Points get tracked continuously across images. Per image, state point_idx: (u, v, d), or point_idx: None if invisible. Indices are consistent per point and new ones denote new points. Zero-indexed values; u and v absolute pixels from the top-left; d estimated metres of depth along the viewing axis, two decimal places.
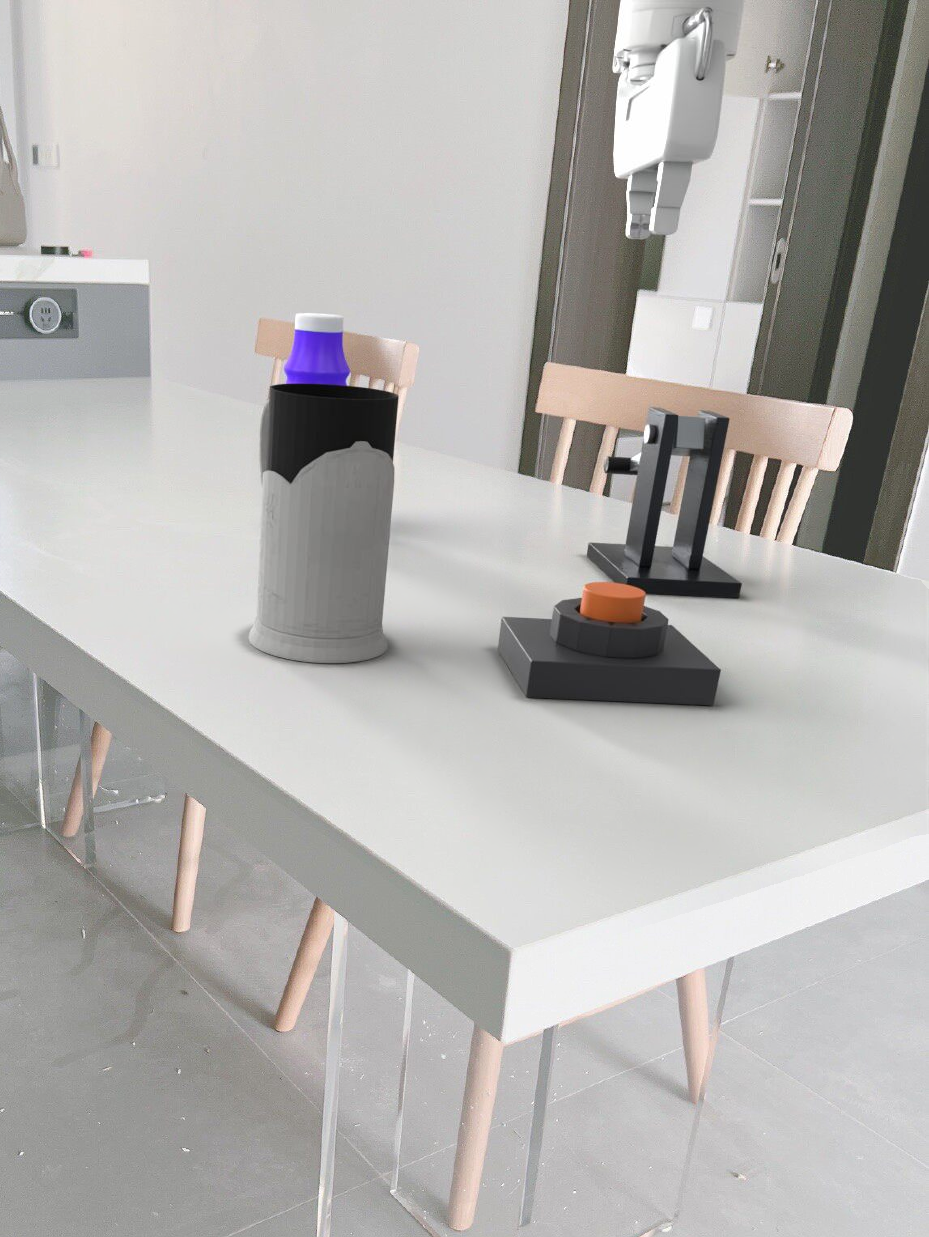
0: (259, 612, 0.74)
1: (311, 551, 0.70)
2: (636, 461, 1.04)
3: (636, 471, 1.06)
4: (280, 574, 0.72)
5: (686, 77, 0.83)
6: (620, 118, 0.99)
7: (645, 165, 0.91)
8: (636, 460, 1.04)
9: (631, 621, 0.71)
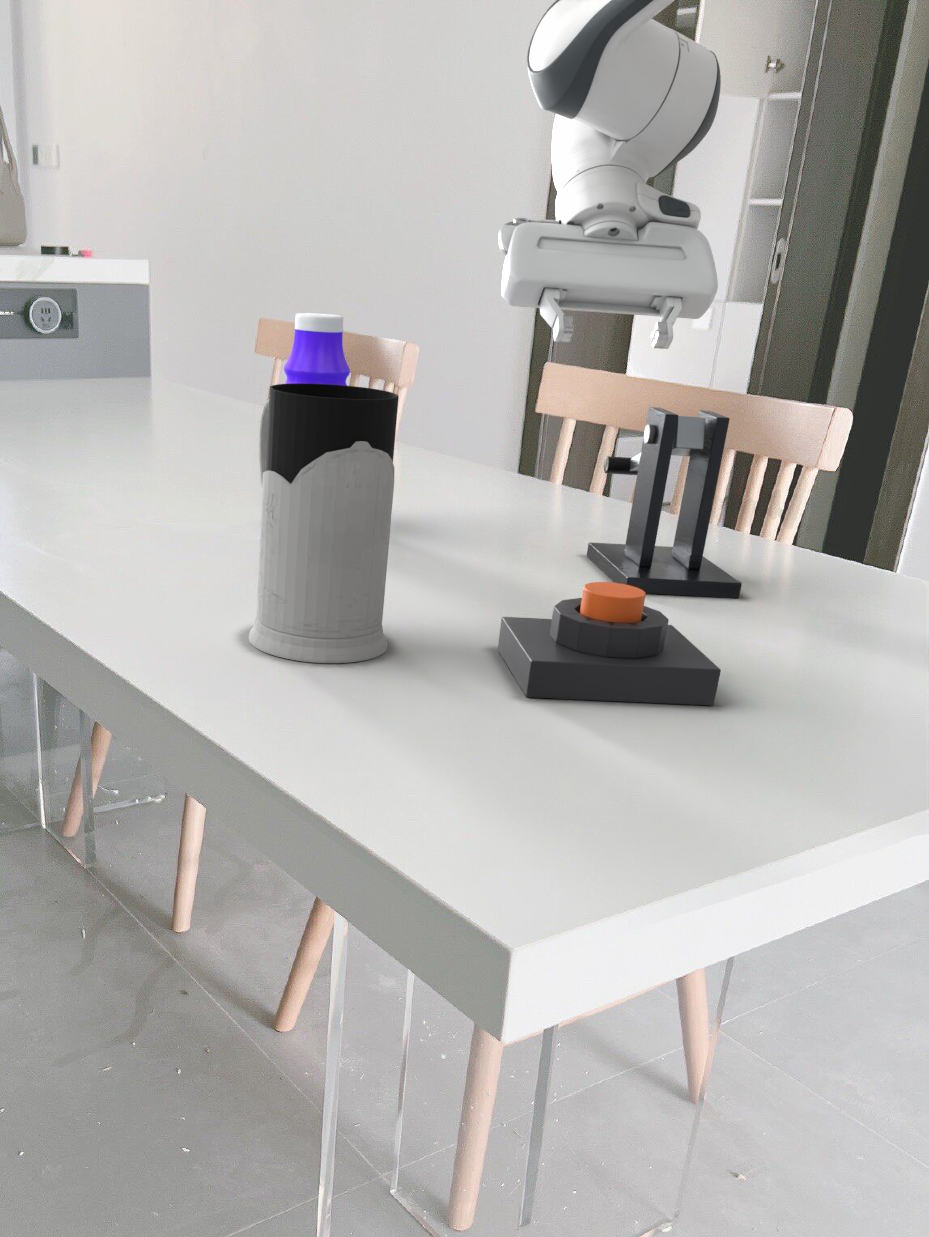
0: (259, 612, 0.74)
1: (311, 551, 0.70)
2: (636, 461, 1.04)
3: (636, 471, 1.06)
4: (280, 574, 0.72)
5: (505, 261, 1.17)
6: None
7: (580, 310, 1.16)
8: (636, 460, 1.04)
9: (631, 621, 0.71)
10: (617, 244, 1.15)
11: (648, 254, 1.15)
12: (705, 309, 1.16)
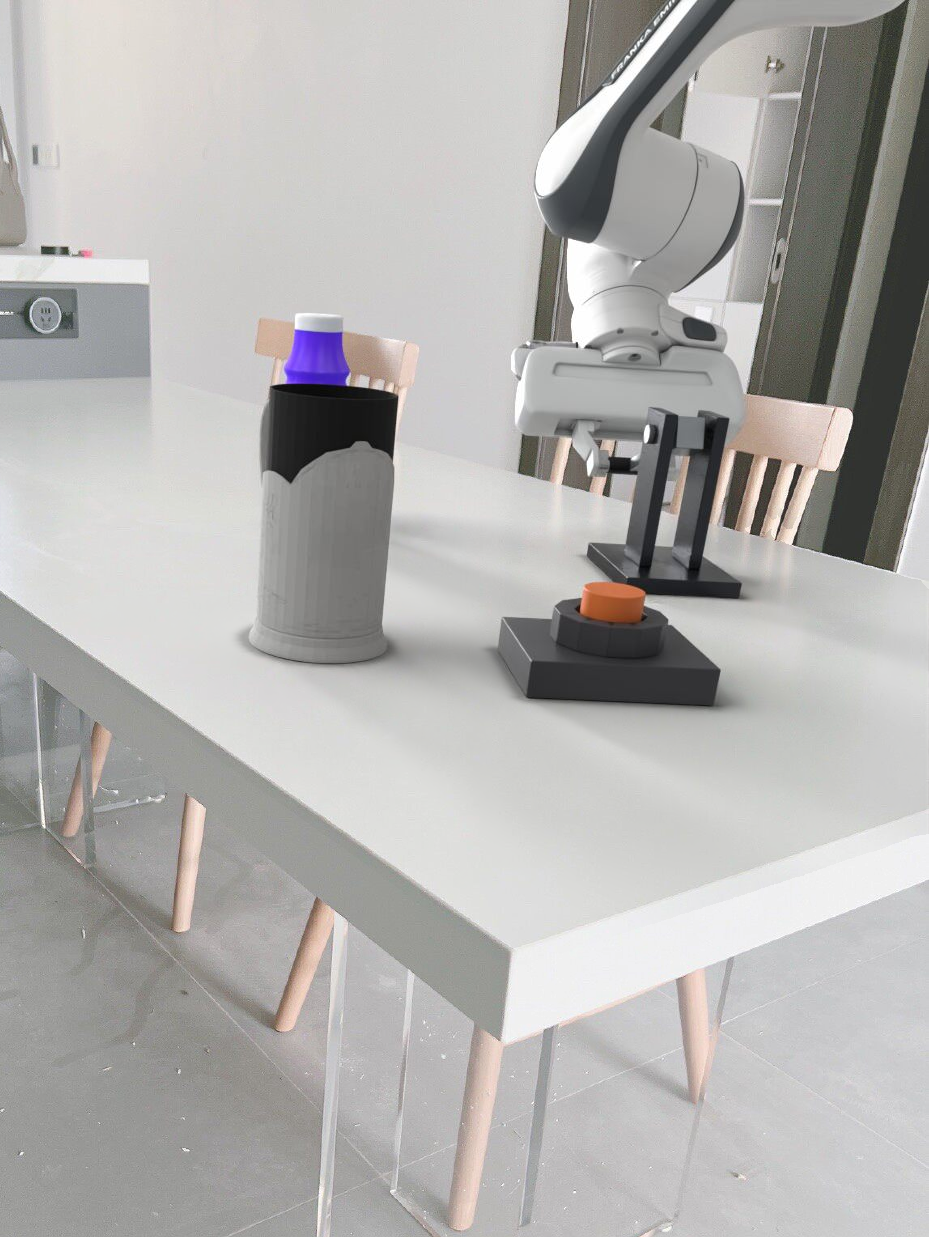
0: (259, 612, 0.74)
1: (311, 551, 0.70)
2: (636, 461, 1.04)
3: (636, 471, 1.06)
4: (280, 574, 0.72)
5: (518, 386, 1.09)
6: None
7: (598, 439, 1.09)
8: (636, 460, 1.04)
9: (631, 621, 0.71)
10: (638, 369, 1.08)
11: (671, 380, 1.08)
12: (732, 438, 1.09)
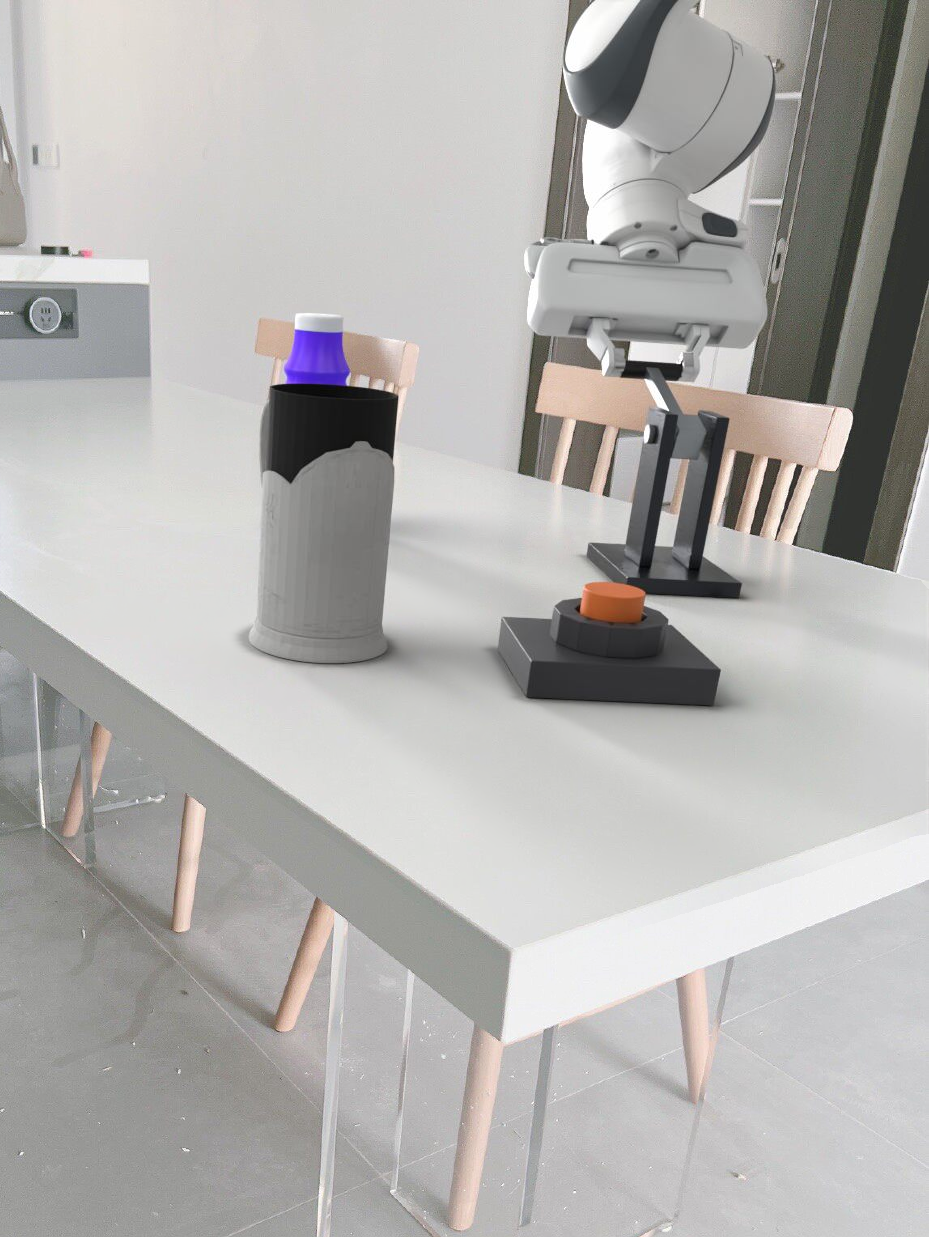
0: (259, 612, 0.74)
1: (311, 551, 0.70)
2: (649, 383, 1.01)
3: None
4: (280, 574, 0.72)
5: (531, 285, 1.06)
6: None
7: (614, 339, 1.05)
8: (649, 381, 1.01)
9: (631, 621, 0.71)
10: (656, 267, 1.04)
11: (690, 278, 1.04)
12: (753, 338, 1.05)
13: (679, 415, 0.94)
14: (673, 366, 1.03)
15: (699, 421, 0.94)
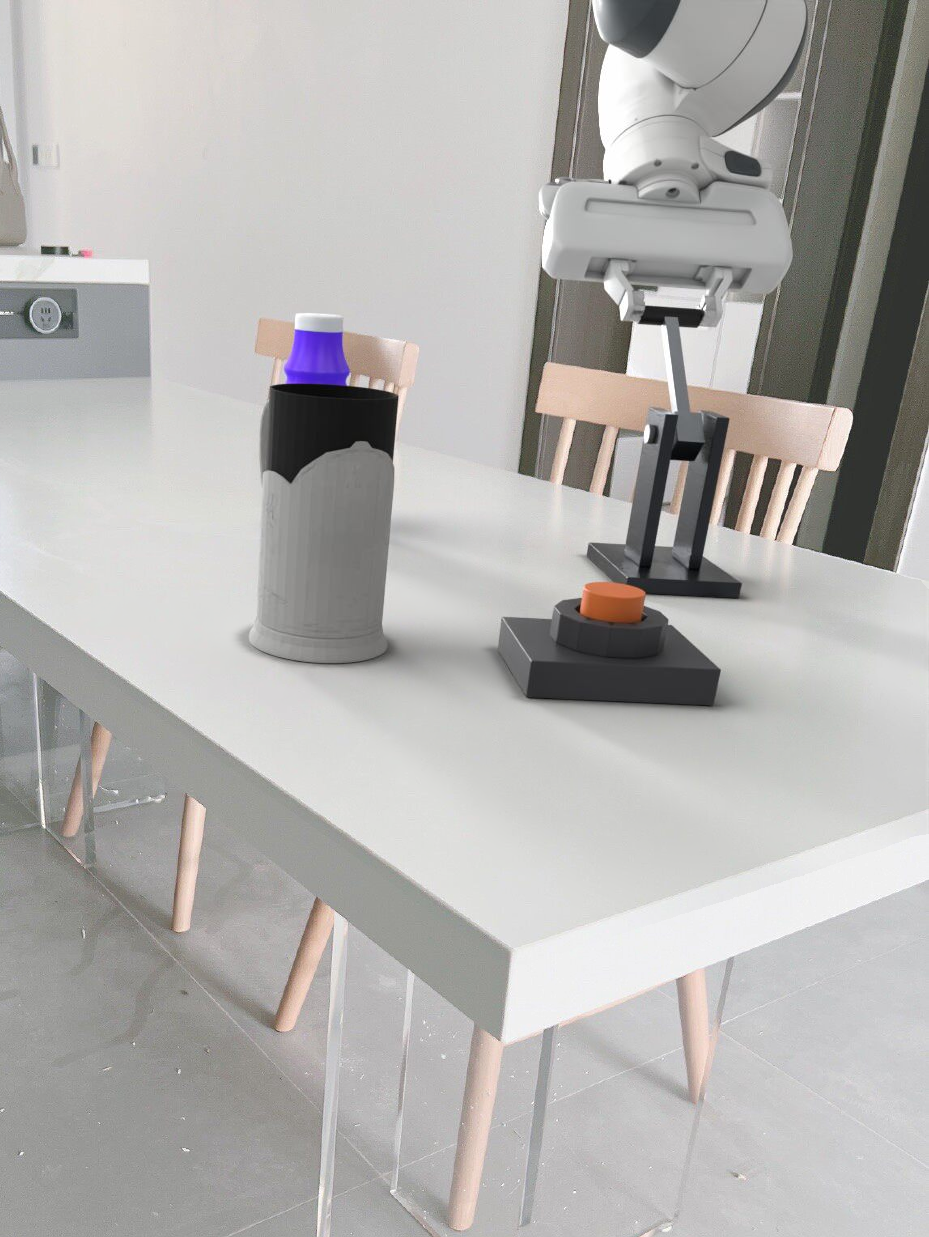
0: (259, 612, 0.74)
1: (311, 551, 0.70)
2: (664, 340, 0.98)
3: None
4: (280, 574, 0.72)
5: (546, 227, 1.01)
6: None
7: None
8: (665, 338, 0.98)
9: (631, 621, 0.71)
10: (676, 207, 1.00)
11: (712, 219, 1.00)
12: (777, 283, 1.01)
13: (682, 415, 0.94)
14: (693, 315, 0.98)
15: (701, 424, 0.93)
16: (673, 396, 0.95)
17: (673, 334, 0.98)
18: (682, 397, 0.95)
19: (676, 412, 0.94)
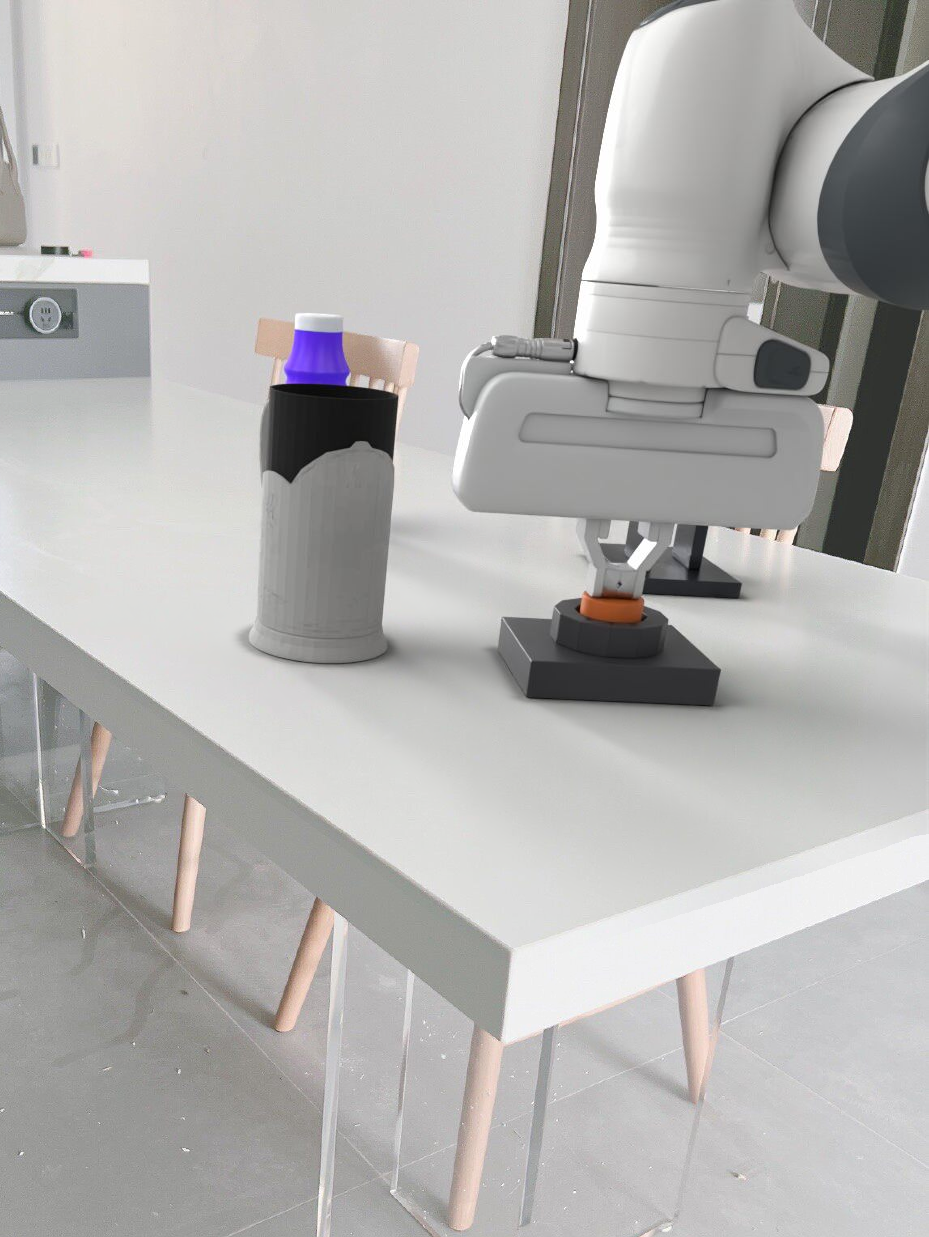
0: (259, 612, 0.74)
1: (311, 551, 0.70)
2: None
3: None
4: (280, 574, 0.72)
5: None
6: None
7: None
8: None
9: None
10: (662, 423, 0.66)
11: (711, 444, 0.67)
12: None
13: None
14: None
15: None
16: None
17: None
18: None
19: None
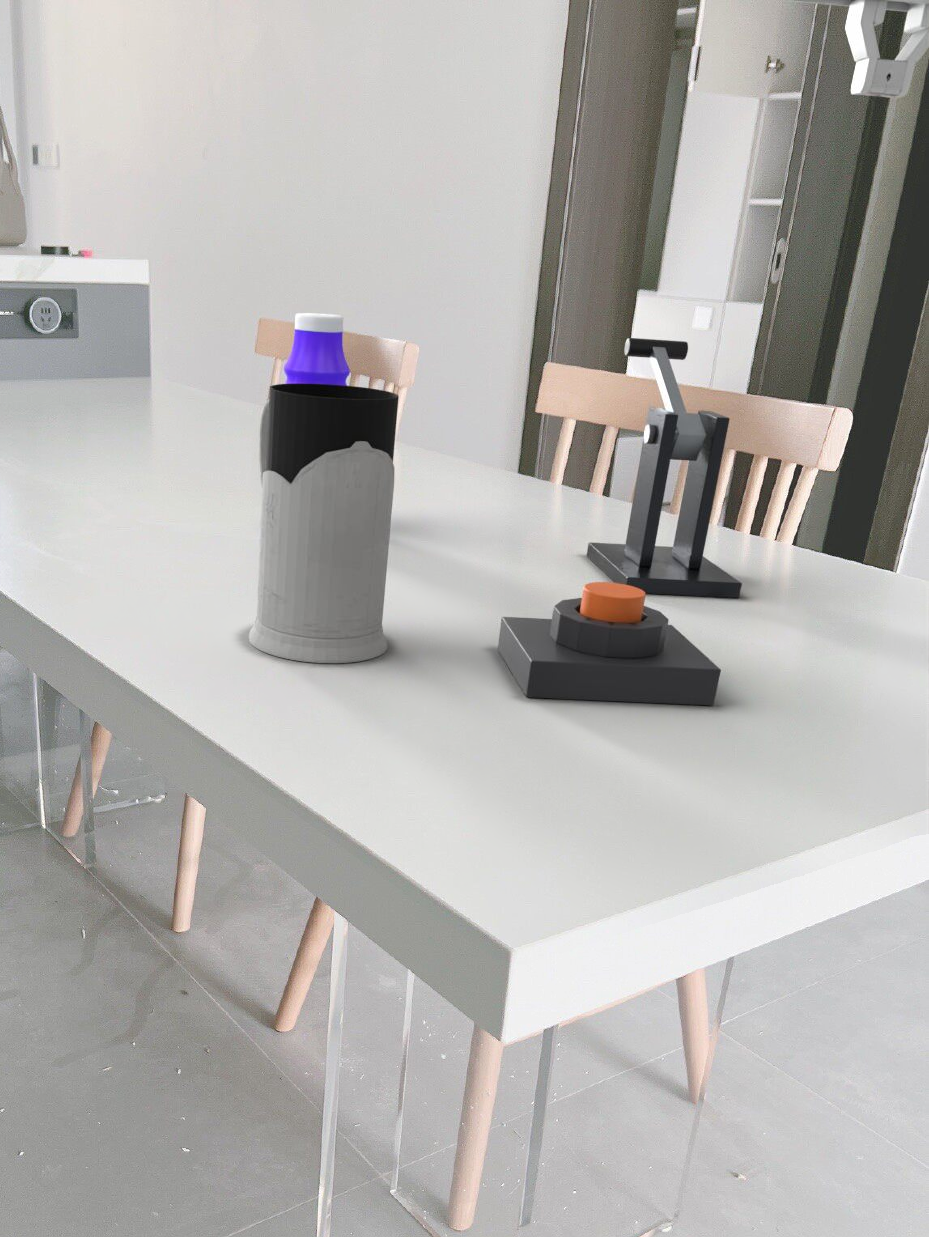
0: (259, 612, 0.74)
1: (311, 551, 0.70)
2: (654, 366, 1.00)
3: None
4: (280, 574, 0.72)
5: None
6: None
7: (847, 5, 0.74)
8: (654, 364, 1.00)
9: (631, 621, 0.71)
10: None
11: None
12: None
13: (680, 414, 0.94)
14: (680, 345, 1.01)
15: (700, 422, 0.94)
16: (669, 405, 0.96)
17: (662, 359, 1.00)
18: (678, 405, 0.96)
19: (674, 412, 0.94)
